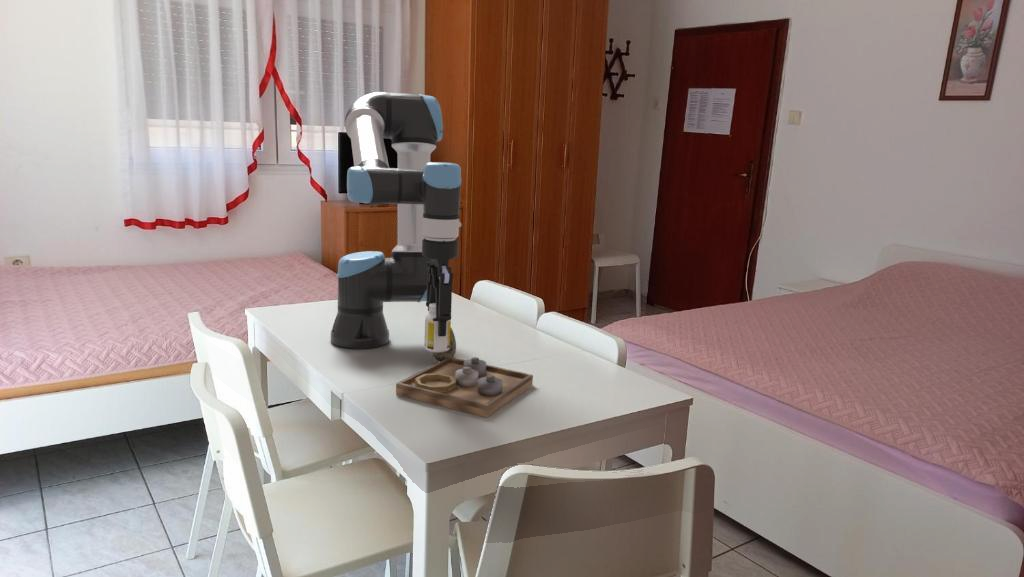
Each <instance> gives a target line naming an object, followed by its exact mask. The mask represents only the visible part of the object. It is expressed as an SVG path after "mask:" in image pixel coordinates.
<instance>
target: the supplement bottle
mask: <svg viewBox="0 0 1024 577" xmlns="http://www.w3.org/2000/svg"><path fill="white" fill-rule="evenodd" d="M428 313H429V314H428ZM428 313H427V314H426V315H425V320H424V323H425V324H424V343H423V344H424V346H423V348H424V350H426V351H428V352H429V353H432V352H445V351H448V350H449V347H450V327H451V326H452V325H451V324H452V323H451V321H452V319H451V320H449V321H448V337H447V350H442V351H434V322H435V321H433V318H436V303H431V304H429V312H428Z"/></svg>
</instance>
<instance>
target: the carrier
mask: <svg viewBox="0 0 1024 577" xmlns="http://www.w3.org/2000/svg"><path fill="white" fill-rule="evenodd" d="M533 378H534V375H533V374H532V373H526V372H522V371H516V370H512V369H507V368H503V367H499V366H495V365H491V364H490V365H489V364H487V361H485V360H483V359H480V358H479V357H475V356H474V357H471V359H463V358H459V357H448V358H446V359H444V360H442V361H440V362H439V361H437V363H434V364H433V365H431V366H429V367H426V368H424V369H422V370H420V371H418V372H417V373H415V374H412V375H411V376H408V377H406V378H404V379H402V380H401V381H399V382H395V383H396V384H395V395H397V396H401V397H404V398H409V399H412V400H417V401H421V402H425V403H429V404H433V405H435V406H439V407H443V408H447V409H452V410H456V411H459V412H464V413H468V414H472V415H475V416H480V417H484V418H488V417H489V416H491V415H492V414H494V413H495V412H496V411H498V410H499V409H501V408H502V407H504V406H505V405H506V404H508V403H509V402H510V401H512V400H514V399H515V398H516V397H518V396H519V395H521V394H522V393H524V392H525V391H526V390H528V389H529V388H531V387H532V386H533V381H534V380H533Z"/></svg>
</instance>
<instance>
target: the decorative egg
mask: <svg viewBox="0 0 1024 577" xmlns="http://www.w3.org/2000/svg"><path fill="white" fill-rule="evenodd" d="M456 352H457V341H456V336H455V333H454V329H453V328H452V327H451V326H450V347H449V350H448V351H445V352H431V353H432V356H433V357H434V359H435V360H436V361H437V362H440V361H442V360H444V359H446V358H448V357H453V358H455V355H456Z"/></svg>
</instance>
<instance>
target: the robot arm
mask: <svg viewBox="0 0 1024 577" xmlns="http://www.w3.org/2000/svg"><path fill="white" fill-rule="evenodd" d="M442 115H443V114H442V108H441V105H440V103H439V101H438V99H437V98H436V97H434V96H432V95H427V94H421V93H402V92H401V93H400V92H386V91H374V92H370V93H366V94H365V95H363V96H360V97H359V98H358V99H356V100H355V101H354V102H353V103H352V104H351V105H350V106H349V107H348V109H347V111H346V113H345V117H344V130H345V132H346V134H347V136H348V137H349V139H350V142H351V150H352V159H353V166H351V167H349V168H348V169H347V174H346V190H347V191H346V192H347V199H348V200H349V201H350V202H352V203H363V204H364V205H365V204H394V205H395V204H397V244H396V245H395V246H394V247H393V249H392V250H391V257H385V254H384V252H382V251H377V250H376V251H373V250H371V251H370V250H366V251H359V252H352V253H349V254H346V255H344V256H342V257H340V259H339V260H338V265H337V266H338V267H337V273H336V277H337V312H336V316H335V319H334V321H333V322H334V323H333V325H332V328H331V331H330V342H331V343H332V344H333V345H334V346H338V347H341V348H347V349H354V350H355V349H356V350H357V349H360V350H361V349H362V350H364V349H372V348H379V347H382V346H384V345H387V344H388V343H390V330H389V329H388V325H387V322H386V318H385V315H384V303H405V302H406V303H411V302H412V303H413V302H414V303H415V302H416V303H421V302H426V303H425V306H426V307H427V311H428V313H427V314H429V313H430V312H429V304H431V303H436V318H433V321H435V322H434V351H442V350H447V337H448V321H449V320H451V321H452V302H453V301H452V297H453V282H454V280H453V279H454V274H453V272H452V268H451V266H450V263H449V261H450V260H454V259H457V258H458V257H459V241H458V239H457V238H458V237H459V230H460V228H461V227H462V223H461V221H460V207H461V188H462V186H461V185H462V182H463V180H462V169H461V166H460V165H459V164H457V163H453V162H442V161H441V162H440V161H439V162H437V161H436V162H435V161H433V162H432V161H431V154H432V152H434V151H435V149H436V148H437V143H438V142H440V141H442V139H443V134H444V133H443V130H444V124H443V116H442ZM384 139H389V140H391V148H392V149H394V151H395V152H396V153H397V167H396V168H395V167H390V165H389V161H388V155H387V150H386V146H385V142H384Z"/></svg>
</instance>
